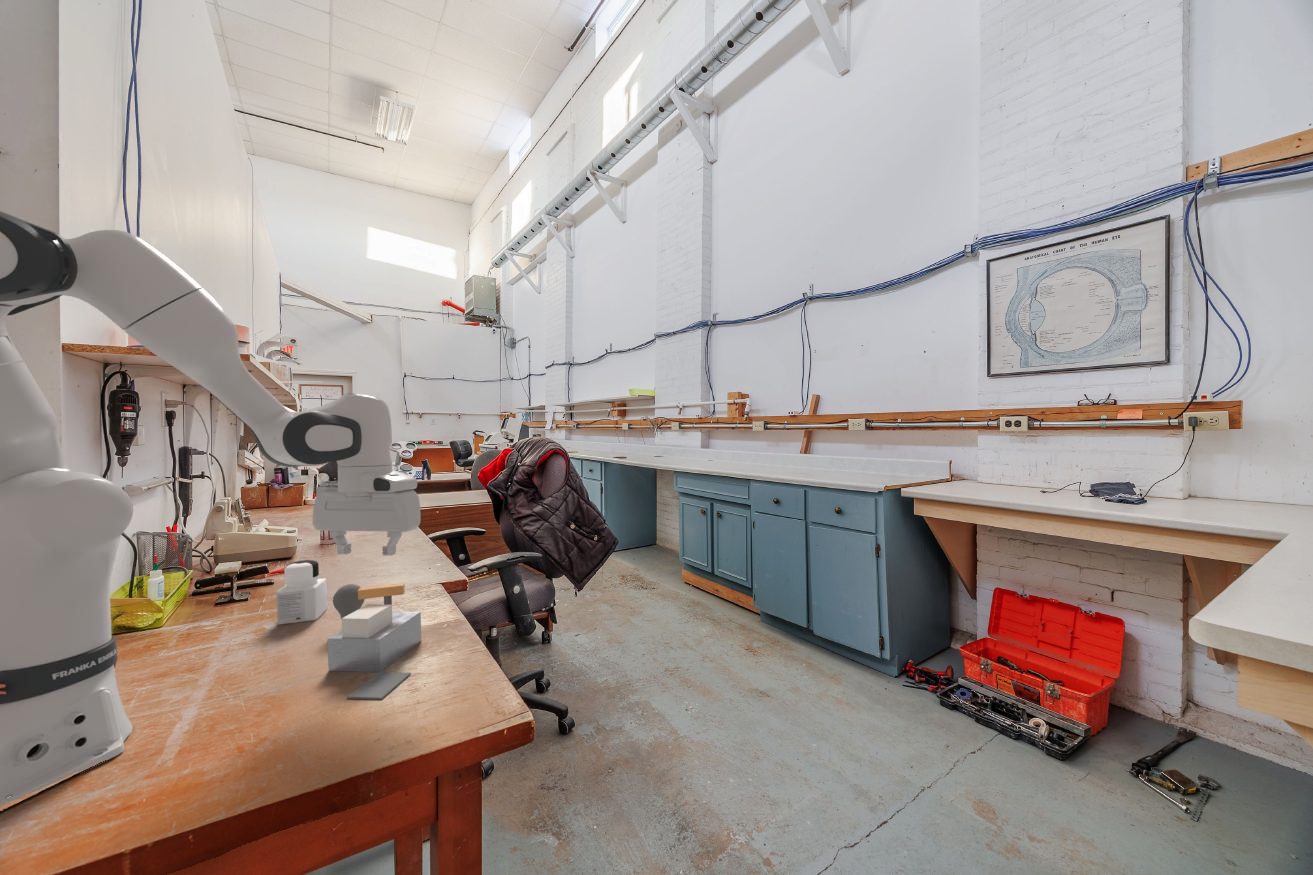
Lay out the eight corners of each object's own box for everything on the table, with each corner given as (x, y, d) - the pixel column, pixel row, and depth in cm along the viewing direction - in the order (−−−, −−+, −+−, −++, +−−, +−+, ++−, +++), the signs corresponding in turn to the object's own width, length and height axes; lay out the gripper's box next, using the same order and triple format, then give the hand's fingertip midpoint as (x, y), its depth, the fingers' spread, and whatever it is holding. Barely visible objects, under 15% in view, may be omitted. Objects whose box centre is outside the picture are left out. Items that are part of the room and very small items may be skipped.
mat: (381, 699, 79) (381, 697, 79) (347, 698, 79) (346, 696, 79) (410, 674, 87) (410, 672, 87) (378, 673, 87) (378, 671, 87)
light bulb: (372, 624, 109) (370, 580, 109) (353, 636, 103) (351, 589, 103) (347, 624, 110) (346, 580, 110) (327, 635, 104) (325, 589, 104)
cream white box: (368, 637, 88) (367, 618, 88) (342, 637, 89) (341, 618, 89) (392, 622, 95) (391, 604, 95) (368, 621, 96) (367, 604, 96)
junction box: (380, 672, 88) (379, 639, 88) (328, 670, 88) (327, 638, 88) (421, 640, 101) (420, 611, 100) (375, 639, 101) (374, 611, 101)
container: (291, 612, 118) (289, 559, 117) (328, 608, 120) (326, 556, 120) (276, 625, 110) (274, 568, 110) (316, 620, 113) (314, 564, 112)
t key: (359, 622, 96) (357, 590, 95) (361, 619, 97) (360, 587, 97) (404, 616, 98) (403, 585, 98) (405, 613, 100) (404, 583, 99)
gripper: (302, 482, 90) (303, 557, 90) (403, 482, 87) (404, 559, 87) (330, 479, 96) (331, 549, 96) (425, 479, 93) (426, 551, 93)
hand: (366, 554), depth 91 cm, fingers open, 8 cm apart
